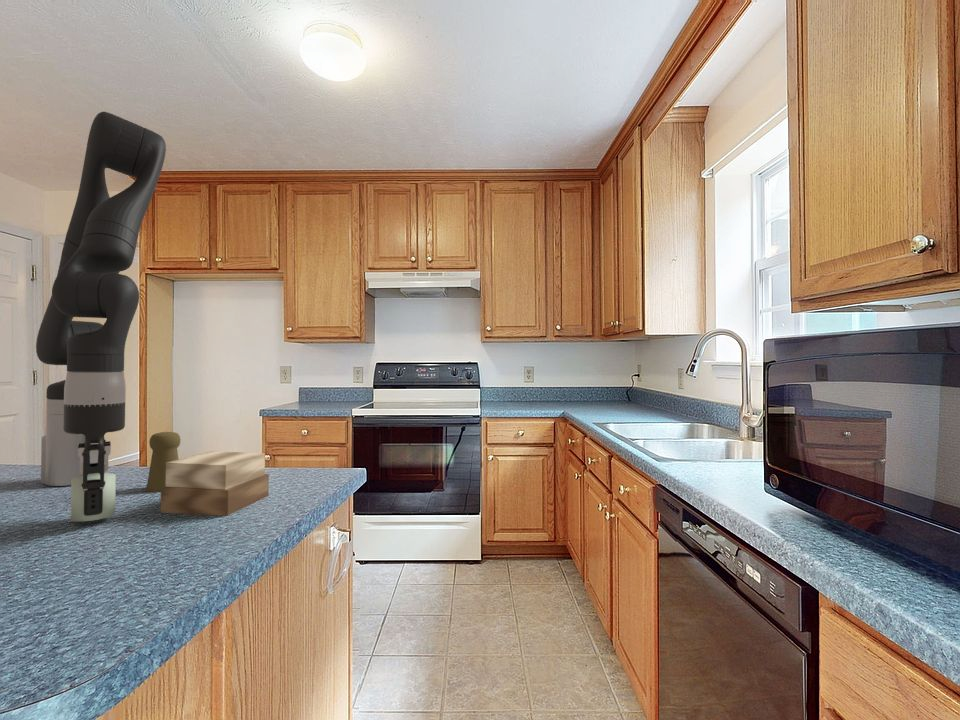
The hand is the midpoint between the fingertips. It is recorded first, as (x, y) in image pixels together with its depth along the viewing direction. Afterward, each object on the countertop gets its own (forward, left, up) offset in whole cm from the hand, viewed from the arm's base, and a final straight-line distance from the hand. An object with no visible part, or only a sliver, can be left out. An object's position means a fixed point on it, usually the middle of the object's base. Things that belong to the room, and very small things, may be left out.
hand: (93, 509), depth 75 cm
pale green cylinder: (0, 0, -1) cm, 1 cm away
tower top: (+12, +12, +2) cm, 17 cm away
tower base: (+12, +12, -2) cm, 17 cm away
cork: (-5, +20, -2) cm, 21 cm away
